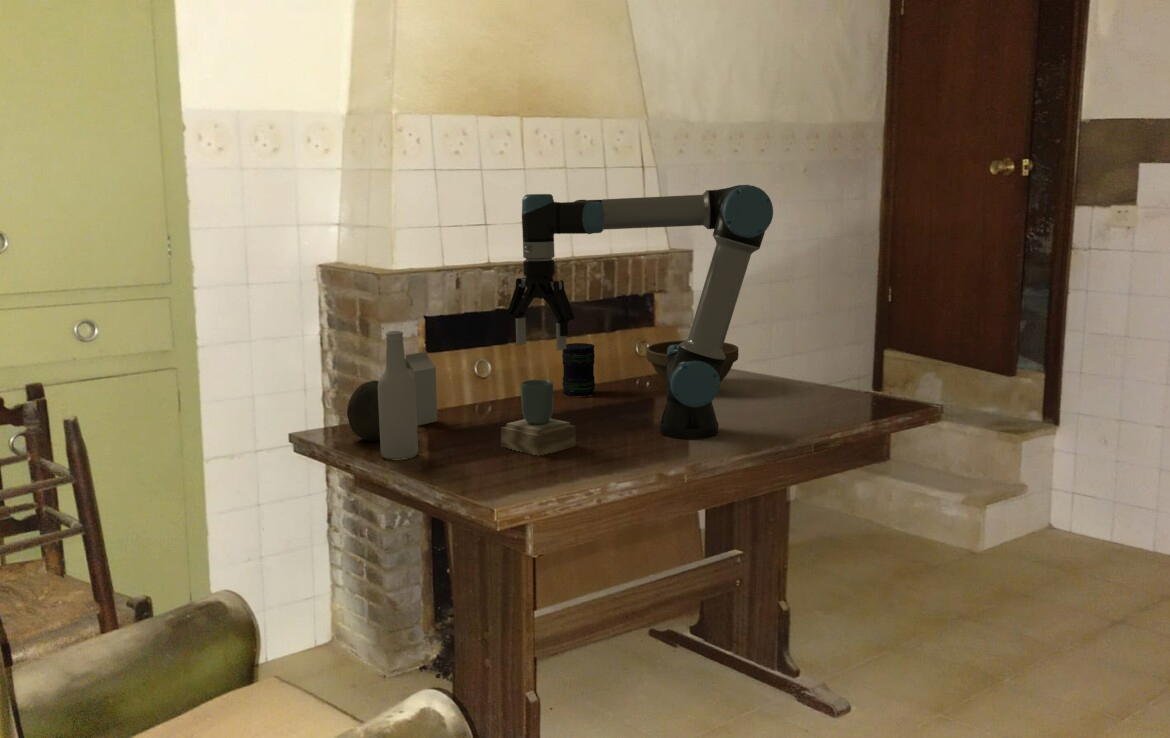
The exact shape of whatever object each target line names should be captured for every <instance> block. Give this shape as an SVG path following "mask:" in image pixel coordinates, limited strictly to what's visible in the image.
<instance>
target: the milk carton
mask: <svg viewBox="0 0 1170 738" xmlns="http://www.w3.org/2000/svg"><path fill="white" fill-rule="evenodd" d="M405 363H406V368H407V370H408V372H409V373H410V374H411V375H412V376H413V378H414V381H415V386H416V412H417V427H418V426H422V425H426V424H430V423H435V422H438V402H437V401H438V400H437V399H438V398H437V372H436V371H437V368H436V366H435V364H434V363H433V361H432V360H431V359H430V357H429V356H428V351H421V352H415V353H410V354H409V353H408V354H406V355H405Z"/></svg>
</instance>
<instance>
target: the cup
mask: <svg viewBox="0 0 1170 738" xmlns="http://www.w3.org/2000/svg"><path fill="white" fill-rule="evenodd" d="M520 397H521V398H520V400H521V402H520V403H521V411H522V417H523V419H525V420H526V421H527V422H528V423H530V424H544V423H547V422H548V421H549V420H550V418H551V419H552V416H553V412H554V411H553V410H554V383H553V381H552V380H547V379H530V380H529V379H527V380H524V381H522V382H521V383H520Z"/></svg>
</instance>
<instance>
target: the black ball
mask: <svg viewBox="0 0 1170 738" xmlns="http://www.w3.org/2000/svg"><path fill="white" fill-rule="evenodd" d="M378 382H379V380H370V381H366V382H364V383H362V384H361V385H359V386H358V387H357V388H356V389H355V390H354V392H353V393H352V394H351V396H350V397H349V401H348V402H347V403H348V404H347V410H346V417H347V419H348V420H347V421H348V423H349V426H350V428H351V431H352V432H353V434H354V435H356V436H357V437H359V438H361V439H363V440H365V441H367V442H377V441H380V426H379V404H378Z"/></svg>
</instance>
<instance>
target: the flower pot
mask: <svg viewBox="0 0 1170 738" xmlns="http://www.w3.org/2000/svg"><path fill="white" fill-rule="evenodd" d="M684 341H685V340H671V341H670V340H669V341H663V342H658V343H653V344H650V345H649V346H647V347H646V351H645V352H646V360H647V362H649V363H651V365H652V367H653V369H654V371H655V372H656V374H658V375H657V376H659V378H660V379H661V380H662V381H663V382H664V383H665V384H666V385H667V358H666V355H667V349H668V347H669V346H670V345H679V344H680V343H682V342H684ZM722 351H723V353H724V355H725V357H726V359H725V362H724V365H723V369H722V372H721V375H720V384H721V382H722V381H724V379H725V378H726V377H727V375H728V374H729V372H730V371H731V369H732V367H733V364H734V363H735V362H737V361H738V360H739V347H738V346H737V345H735V344H732V343H728V342H724V344H723V347H722Z"/></svg>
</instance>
